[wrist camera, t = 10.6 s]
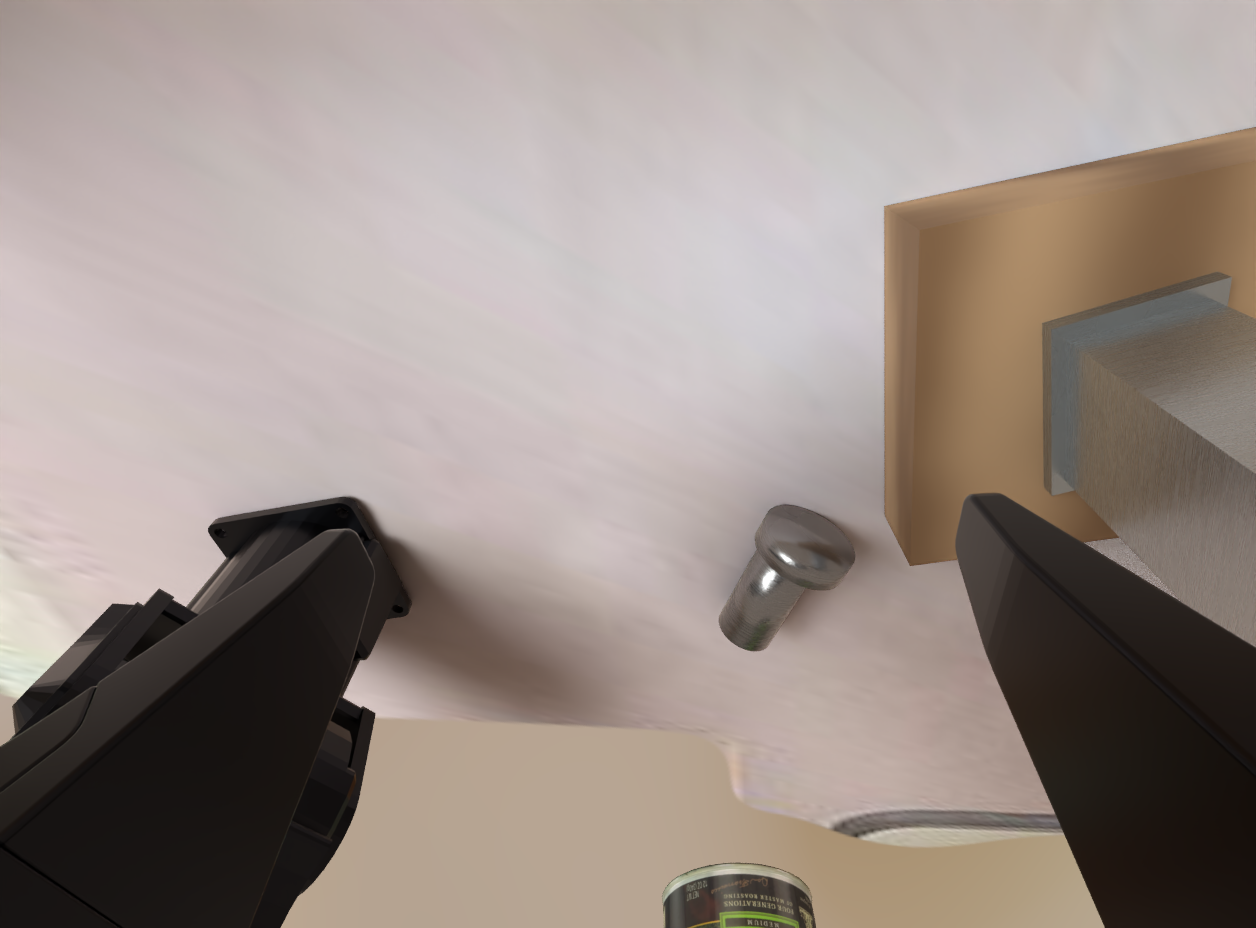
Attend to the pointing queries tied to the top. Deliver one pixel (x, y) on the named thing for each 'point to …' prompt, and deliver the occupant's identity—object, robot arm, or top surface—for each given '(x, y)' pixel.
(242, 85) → the top surface
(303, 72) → the top surface
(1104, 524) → the stand
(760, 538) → the bolt
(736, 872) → the coffee can
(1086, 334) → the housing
